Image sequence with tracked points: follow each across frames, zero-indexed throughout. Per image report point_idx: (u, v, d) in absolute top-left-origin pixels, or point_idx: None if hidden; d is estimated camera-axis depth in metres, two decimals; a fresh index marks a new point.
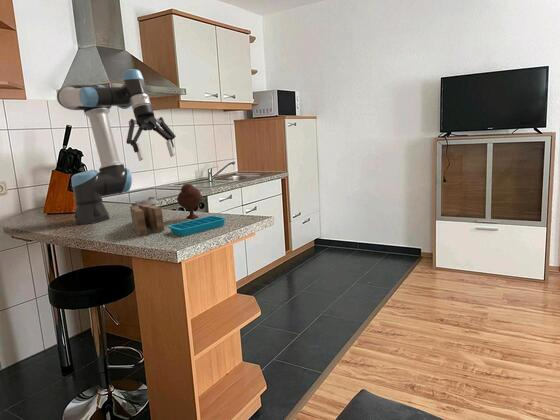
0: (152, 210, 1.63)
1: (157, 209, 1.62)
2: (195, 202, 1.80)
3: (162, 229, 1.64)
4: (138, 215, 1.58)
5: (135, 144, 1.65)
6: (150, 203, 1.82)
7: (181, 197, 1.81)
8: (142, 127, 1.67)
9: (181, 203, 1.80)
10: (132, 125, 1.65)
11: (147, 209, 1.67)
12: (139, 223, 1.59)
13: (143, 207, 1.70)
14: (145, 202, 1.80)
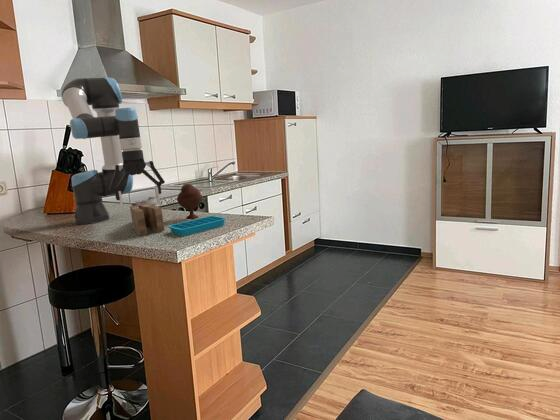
0: (152, 210, 1.63)
1: (157, 209, 1.62)
2: (195, 202, 1.80)
3: (162, 229, 1.64)
4: (138, 215, 1.58)
5: (117, 192, 1.59)
6: (150, 203, 1.82)
7: (181, 197, 1.81)
8: (127, 174, 1.58)
9: (181, 203, 1.80)
10: (116, 172, 1.57)
11: (147, 209, 1.67)
12: (139, 223, 1.59)
13: (143, 207, 1.70)
14: (145, 202, 1.80)
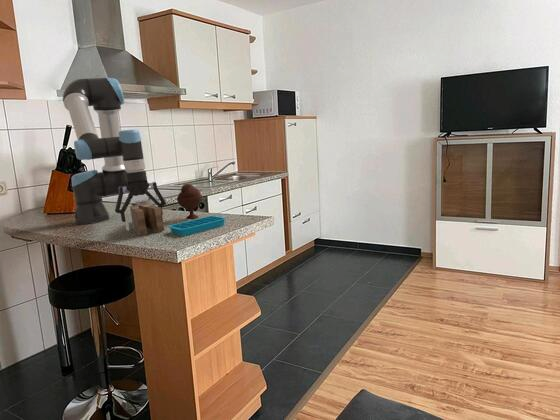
0: (152, 210, 1.63)
1: (157, 209, 1.61)
2: (195, 202, 1.80)
3: (162, 229, 1.64)
4: (138, 215, 1.58)
5: (123, 214, 1.61)
6: (150, 203, 1.82)
7: (181, 197, 1.81)
8: (131, 196, 1.60)
9: (181, 203, 1.80)
10: (120, 194, 1.59)
11: (147, 209, 1.67)
12: (139, 223, 1.59)
13: (143, 207, 1.70)
14: (145, 202, 1.80)
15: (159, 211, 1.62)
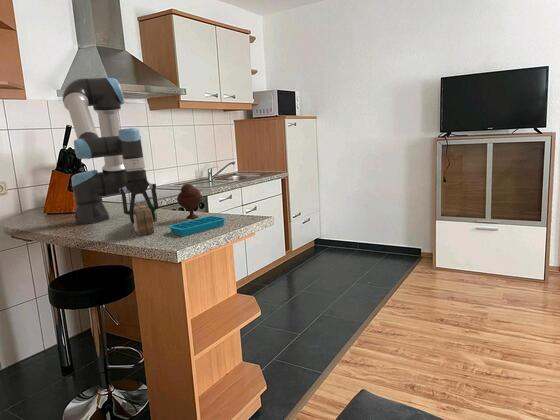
0: None
1: (146, 211, 1.59)
2: (195, 202, 1.80)
3: (152, 231, 1.61)
4: (138, 215, 1.58)
5: (133, 215, 1.62)
6: None
7: (181, 197, 1.81)
8: (134, 195, 1.60)
9: (181, 203, 1.80)
10: (123, 195, 1.59)
11: None
12: (139, 223, 1.59)
13: None
14: (145, 202, 1.80)
15: (149, 213, 1.60)
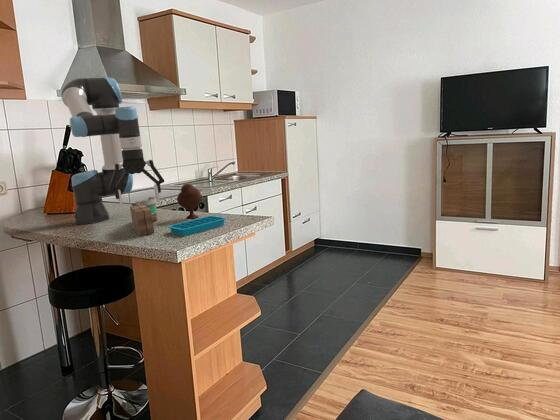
0: None
1: (146, 211, 1.59)
2: (195, 202, 1.80)
3: (152, 231, 1.61)
4: (138, 215, 1.58)
5: (117, 191, 1.59)
6: (150, 203, 1.82)
7: (181, 197, 1.81)
8: (127, 173, 1.59)
9: (181, 203, 1.80)
10: (116, 171, 1.57)
11: None
12: (139, 223, 1.59)
13: None
14: (145, 202, 1.80)
15: (149, 213, 1.60)
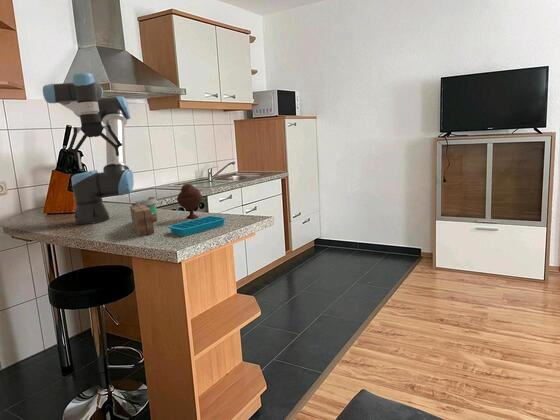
0: None
1: (146, 211, 1.59)
2: (195, 202, 1.80)
3: (152, 231, 1.61)
4: (138, 215, 1.58)
5: (76, 153, 1.69)
6: (150, 203, 1.82)
7: (181, 197, 1.81)
8: (85, 136, 1.69)
9: (181, 203, 1.80)
10: (74, 134, 1.68)
11: None
12: (139, 223, 1.59)
13: None
14: (145, 202, 1.80)
15: (149, 213, 1.60)
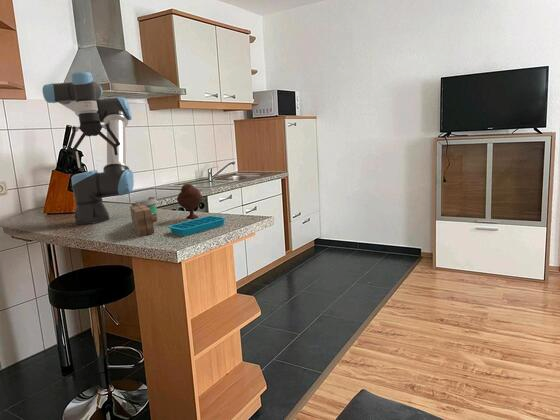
0: None
1: (146, 211, 1.59)
2: (195, 202, 1.80)
3: (152, 231, 1.61)
4: (138, 215, 1.58)
5: (74, 152, 1.69)
6: (150, 203, 1.82)
7: (181, 197, 1.81)
8: (83, 135, 1.69)
9: (181, 203, 1.80)
10: (73, 133, 1.68)
11: None
12: (139, 223, 1.59)
13: None
14: (145, 202, 1.80)
15: (149, 213, 1.60)
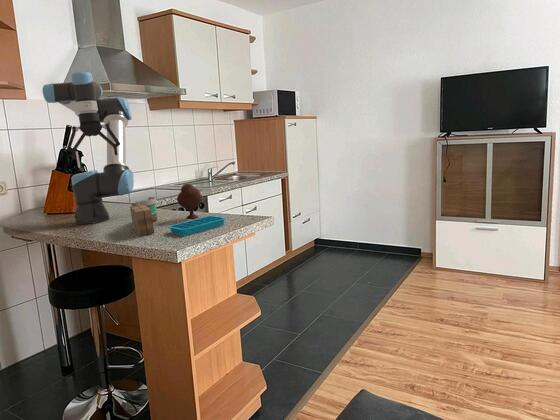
0: None
1: (146, 211, 1.59)
2: (195, 202, 1.80)
3: (152, 231, 1.61)
4: (138, 215, 1.58)
5: (74, 152, 1.69)
6: (150, 203, 1.82)
7: (181, 197, 1.81)
8: (83, 135, 1.69)
9: (181, 203, 1.80)
10: (73, 133, 1.68)
11: None
12: (139, 223, 1.59)
13: None
14: (145, 202, 1.80)
15: (149, 213, 1.60)
